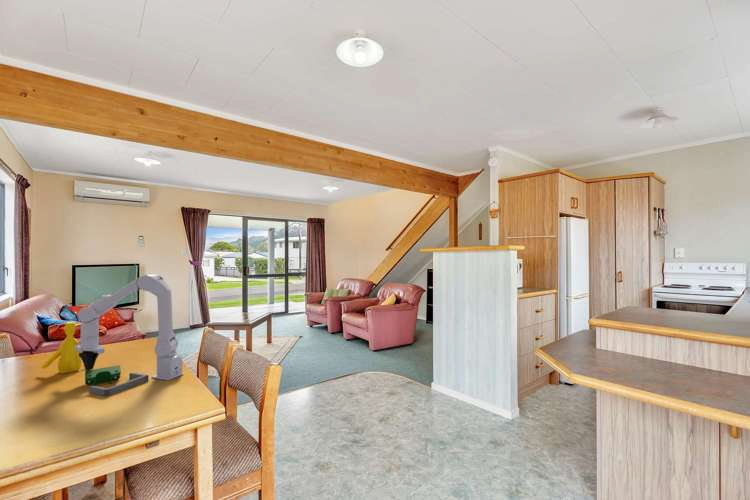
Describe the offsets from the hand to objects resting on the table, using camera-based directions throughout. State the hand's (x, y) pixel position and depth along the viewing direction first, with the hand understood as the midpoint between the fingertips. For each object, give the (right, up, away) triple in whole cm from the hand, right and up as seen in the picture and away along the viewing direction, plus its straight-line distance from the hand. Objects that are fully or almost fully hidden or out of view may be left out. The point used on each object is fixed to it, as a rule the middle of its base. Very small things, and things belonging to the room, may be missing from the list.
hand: (89, 369), depth 142 cm
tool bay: (+17, -5, -6) cm, 18 cm away
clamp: (+8, -5, -2) cm, 9 cm away
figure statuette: (-18, -5, +12) cm, 22 cm away
